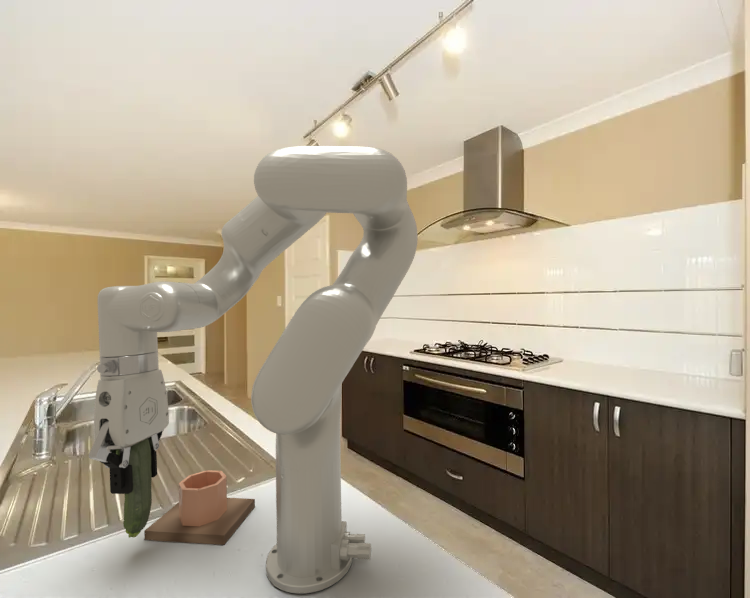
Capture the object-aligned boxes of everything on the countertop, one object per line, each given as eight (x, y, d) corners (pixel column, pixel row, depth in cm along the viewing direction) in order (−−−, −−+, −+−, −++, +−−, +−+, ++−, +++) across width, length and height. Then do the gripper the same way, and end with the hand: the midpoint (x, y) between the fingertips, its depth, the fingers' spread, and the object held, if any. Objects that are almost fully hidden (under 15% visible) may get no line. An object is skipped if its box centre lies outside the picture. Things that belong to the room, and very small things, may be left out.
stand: (254, 506, 69) (254, 498, 69) (224, 544, 58) (224, 535, 58) (186, 503, 71) (186, 495, 71) (144, 539, 60) (144, 530, 60)
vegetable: (159, 528, 58) (154, 402, 58) (143, 546, 54) (137, 410, 54) (131, 530, 58) (126, 404, 58) (112, 548, 54) (107, 412, 54)
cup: (232, 503, 68) (232, 471, 68) (210, 527, 61) (210, 490, 61) (196, 501, 69) (196, 469, 69) (171, 524, 61) (170, 489, 62)
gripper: (105, 375, 47) (111, 516, 47) (187, 357, 64) (191, 460, 64) (54, 377, 48) (59, 515, 48) (148, 358, 65) (152, 460, 65)
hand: (134, 483), depth 56 cm, fingers closed on vegetable, 4 cm apart
